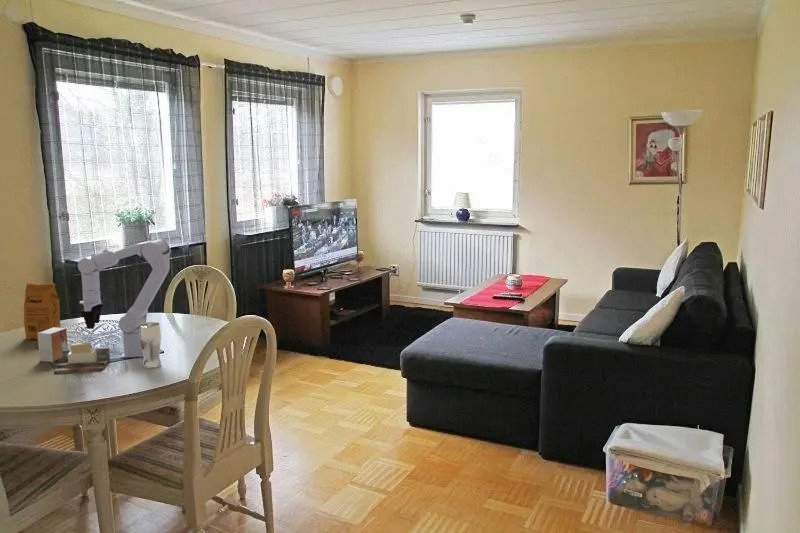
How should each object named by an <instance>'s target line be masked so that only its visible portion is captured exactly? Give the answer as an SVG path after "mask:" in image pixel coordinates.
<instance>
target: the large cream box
mask: <svg viewBox="0 0 800 533" xmlns="http://www.w3.org/2000/svg"><path fill="white" fill-rule="evenodd" d="M70 350H71V351H70V352H69V353H68V363H86V362H96V360H97V351H96V349H92V342H80V343H79V342H78V343H77V342H75V343H71V344H70Z"/></svg>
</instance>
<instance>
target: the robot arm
mask: <svg viewBox="0 0 800 533" xmlns="http://www.w3.org/2000/svg"><path fill="white" fill-rule="evenodd" d="M171 252H172V250H171V248H170V245H169V243H168V242H167V241H166V239H165V240H164V239H163V238H158V239H155V240H148V241H144V242H143V241H142V242H139V243H134V244H132V245H130V246H127V247H124V248H122V249H119V250H113V249H109V248H105V249H103V250H102V252H99V253H92V254H91V255H90V256H87V257H86V256H85V257H82V258H80V260H79V261H78V262H77V268H78V271H79V272H80V273H81V286H82V288H81V289H82V300H80V301H79V304H80V305H82V306H83V309H79V310H80V314H81V316H82V317H83V319H84V323H85V325H86V328H87V330H94V329H95V327H96V326H95V324H100V319H101V312H102V309H103V307H104V302H102V300H101V287H100V286H101V282H100V270H104V269H106V268H109V267H112V266H113V267H114V266H116V265H118V263H119V261H120V260H122V259H125V258H128V257H132V256H135V255H137V256H138V257H143V258H144V259H145V261H146V262H147V263H148V264H149V265H150V266H151V268H152V270H151V272H150V274H149V276H148V278H147V279H146V281H145V283H144V285H143V287H142V289H141V291H140V292H139V294H138V295H137V297H136V299H135V301H134V303H133V304H132V306H131V307H130V308H129V309H128V310H127V312H126V314H124V315H123V316H122V317H120V318H119V321H118V328H119V329H120V330H121V331H122V340H123V341H122V343H123V353H122V355H121V356H120V357H121V358H123V359H124V358H139V357H142V358H143V353H142V349H141V345H140V338H139V328H140V326H139V325H140V324H142V323H147V316H148V313H149V310H148V309H149V307H150V306H151V304H152V302H153V301H154V299H155V297H156V295H157V293H158V291H159V289H161V288H160V287H161V286H162V284H163V283H164V281H165V279H166V277H167V276H168V273H169V272H170V269H171V268H170V267H171V263H170V262H171V260H170V259H171V258H170V255H171Z"/></svg>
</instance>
